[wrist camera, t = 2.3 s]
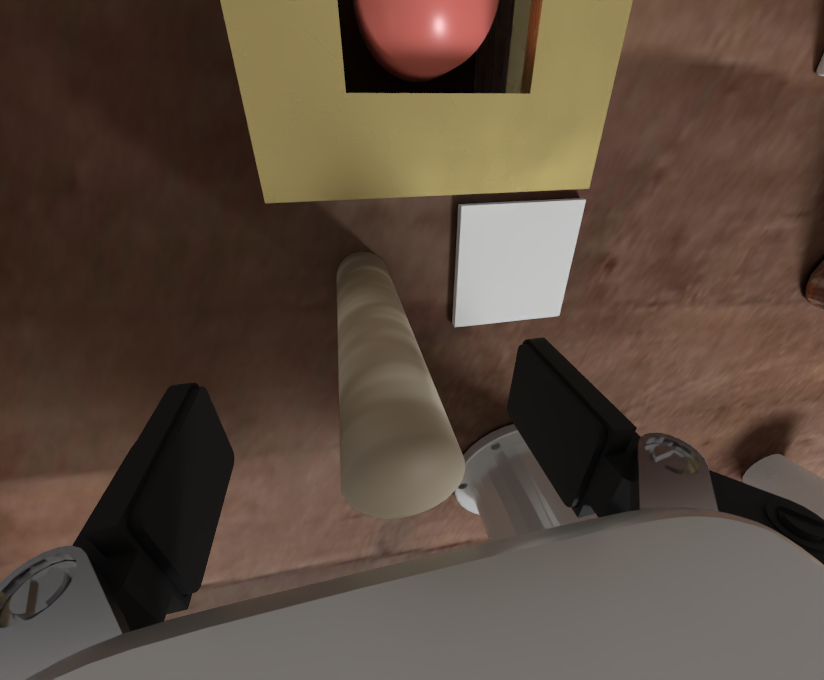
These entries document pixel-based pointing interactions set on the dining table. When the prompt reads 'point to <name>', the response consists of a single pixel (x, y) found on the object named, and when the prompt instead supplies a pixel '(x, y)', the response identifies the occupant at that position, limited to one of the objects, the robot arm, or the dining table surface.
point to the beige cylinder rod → (387, 402)
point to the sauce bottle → (816, 287)
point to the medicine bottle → (821, 67)
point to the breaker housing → (426, 105)
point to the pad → (513, 259)
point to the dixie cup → (788, 482)
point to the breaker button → (423, 33)
